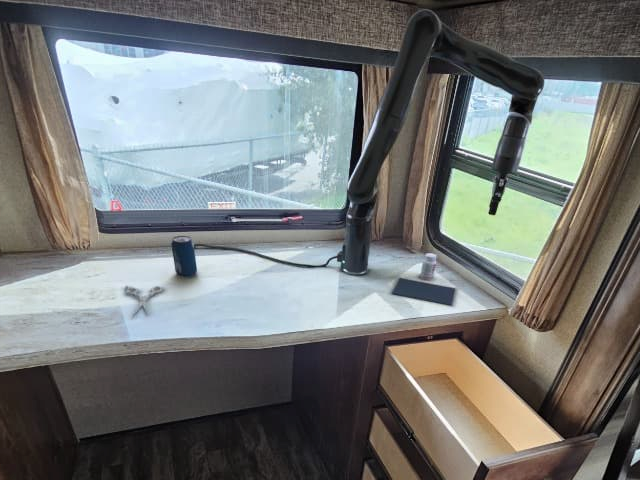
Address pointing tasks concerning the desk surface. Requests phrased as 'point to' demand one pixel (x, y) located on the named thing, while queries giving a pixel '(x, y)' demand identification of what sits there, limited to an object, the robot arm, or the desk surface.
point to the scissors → (142, 299)
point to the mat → (424, 291)
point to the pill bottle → (428, 266)
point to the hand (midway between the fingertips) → (491, 211)
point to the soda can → (184, 256)
